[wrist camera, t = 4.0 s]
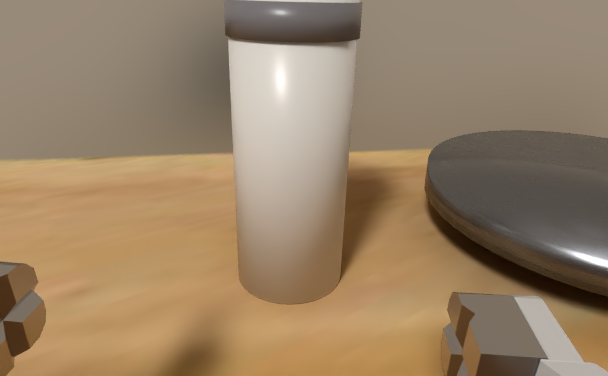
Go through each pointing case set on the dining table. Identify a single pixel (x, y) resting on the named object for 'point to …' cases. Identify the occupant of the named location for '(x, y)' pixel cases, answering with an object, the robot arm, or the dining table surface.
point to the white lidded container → (291, 141)
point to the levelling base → (529, 199)
